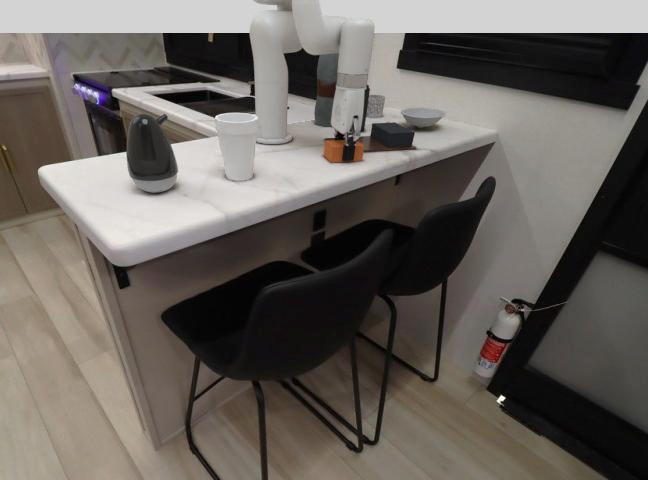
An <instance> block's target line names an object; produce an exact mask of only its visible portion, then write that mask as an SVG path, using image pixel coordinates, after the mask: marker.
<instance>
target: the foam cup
mask: <svg viewBox="0 0 648 480" xmlns="http://www.w3.org/2000/svg"><path fill="white" fill-rule="evenodd" d="M214 123H215V125H214V127H215V131H216V134H217V138H218V143H219V148H220V152H221V153H220V154H221V157H222V162H223V168H224V172H225V173H224V174H225V175H226V178H227V179H228V180H230V181H235V182H236V181H237V182H242V181H243V182H245V181H248V180H251V179H253V176H254V167H255V157H256V155H255V154H256V145H257V142H256V136H257V131H258V117H257V116H256V114H253V113H247V112H225V113H220V114H217V115H215V117H214Z"/></svg>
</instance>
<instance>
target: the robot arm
mask: <svg viewBox="0 0 648 480" xmlns="http://www.w3.org/2000/svg"><path fill="white" fill-rule="evenodd" d="M253 1H254V2H255V3H256V4H259V5H266V6H276V9H266V10H263V11H260V12H258V13H257V14H255V15H254V17H253V18H252V19H251V22H250V25H249V40H250V45H251V51H252V57H253V71H254V72H253V73H254V104H255V105H254V106H255V107H254V110H255V116H257V117H258V131H257V136H256V143H259V144H265V145H266V144H267V145H279V144H280V145H281V144H287V143H289V142H291V141H292V139H293V135H292V133H290V132H288V109H289V107H288V102H289V69H288V64H287V60H286V57H285V55H284V54H289V53H297V52H299V51H301V50H302V49H303V50H304V51H305V52H306V53H307V54H309V55H312V56H320V55H323V54H335V53H339V59H338V70H337V80H336V91H335V96H334V102H333V109H332V117H331V125H332V128H333V129H334V133H333V138H334V140H345V145H344V146H343V154H342V160H343V161H349V162H354V161H353V160H354V154H355V146H356V144H357V141H358V138H359V137H360V136H361V132H360V130H361V125H362V119H363V109H364V90H366V87H367V85H368V80H369V71H370V65H371V57H372V51H373V43H374V37H375V29H376V28H375V27H376V26H375V23H374V20H372V19H369V18H357V17H356V18H351V17H350V18H348V17H344V16H339V15H323V14H322V10H321V4H320V0H253ZM349 130H352V131H353V132H351V131H349ZM349 137H350V139H349Z"/></svg>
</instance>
